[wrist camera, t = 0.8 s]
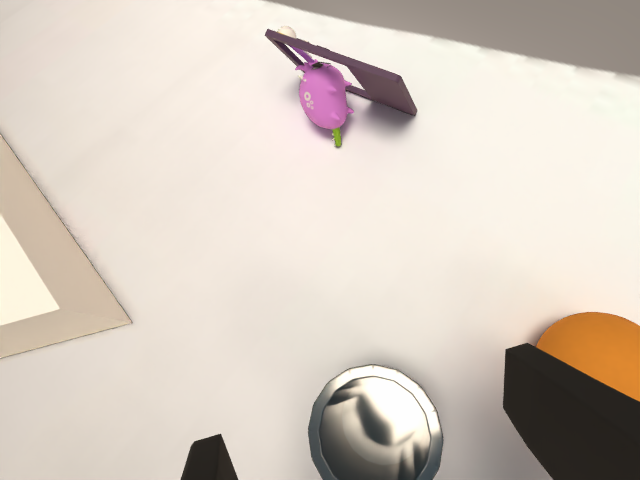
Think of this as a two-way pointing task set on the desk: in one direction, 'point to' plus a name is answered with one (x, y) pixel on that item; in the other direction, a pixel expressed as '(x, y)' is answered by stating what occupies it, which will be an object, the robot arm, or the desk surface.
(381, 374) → the cup
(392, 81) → the purple product box
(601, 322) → the ball
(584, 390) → the robot arm
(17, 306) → the triangle block
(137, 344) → the desk surface
